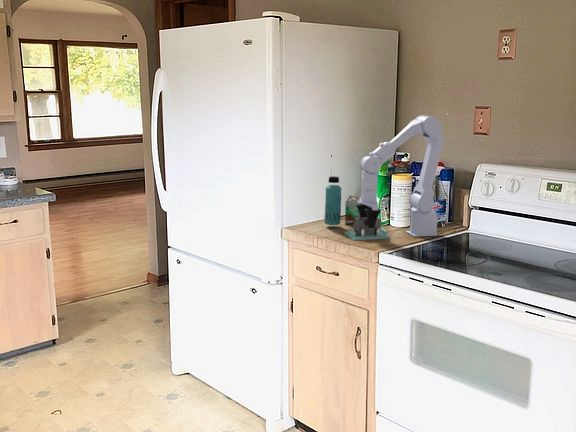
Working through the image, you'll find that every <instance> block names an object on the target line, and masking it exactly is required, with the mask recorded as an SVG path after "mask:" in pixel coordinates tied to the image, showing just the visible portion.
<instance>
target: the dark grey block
mask: <svg viewBox="0 0 576 432" xmlns="http://www.w3.org/2000/svg"><path fill="white" fill-rule="evenodd" d="M381 226H382V218H380V217H379V216H378V218H377V220H376V224H375V227H374V228H368V221H367V217H360V216H359V217H355V218H354V225H353V231H354V232H356V235H357V236H361V229H364V230H365V233H364V236H365V235H377V229H378V228H379V229H380V232H381V228H382V227H381Z"/></svg>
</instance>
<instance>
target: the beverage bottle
mask: <svg viewBox="0 0 576 432" xmlns="http://www.w3.org/2000/svg"><path fill="white" fill-rule="evenodd" d="M327 183H333V184H328V185H326V187H325V203H324V204H325V205H324V224H325V225H327V226H328V225H329V226H339V225H340V224H341V220H342V186H340V185H339V184H337V183H340V177H339V176H336V175H335V176H328V182H327ZM334 183H335V184H334Z"/></svg>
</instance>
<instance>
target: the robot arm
mask: <svg viewBox="0 0 576 432" xmlns="http://www.w3.org/2000/svg"><path fill="white" fill-rule="evenodd" d="M421 135H422V136H423V138H424V139H425V140H426V141H427V146H426V150H425V154H424V157H423V162H422V167H421V170H420V175H419V177H418V181H417V185H415V186H414V188H413V191H412V192H411V194H410V196H409V198H408V202H409V205H410V206H411V208H410V223H409V224H410V225H409V230H405V233H407V234H409V235H411V236H412V237H413V238H416V237H435V236H438V233H437V230H438V214H437V212H436V211H435V210H433V208H434V206H435V201H434V198H435V197H434V196H435V192H434V189H433V187H434V182H435V178H436V173H437V169H438V165H439V162H440V158H441V154H442V150H443V147H444V141H445V138H444V134H443V130H442V122H441V121H440V120H439V119H438V118H437V117H435V116H432V115H431V116H429V115H425V114H421V115H418V116H417V117H416V118H415V119H413V120H411V121H410V122H408V124H407V125H406V127H405V126H404V128H403V129H402V130H401V131H400V132H399V133H398V134H397V135H396V136H395V137H393V138H392V139H391V140H390V141H383V142H380V143H379V144H378V147H377V148H376V149H375V150H373V151H371V152H369V153H368V154H369V155H366V156H364V157H363V158H362V159H361V161H360V163H359V167H360V169H361V185H360V187H361V188H360V190H361V191H360V198H359V201H358V203H359V204H357V205H356V206H357V208H358V211H359V214H360V215H359V217H367V221H368V228H374V227H375V224H376V220H377V218H378V217H379V215H380V213H381V212H382V210H381V209H380V208H379V204H378V201H377V199H378V198H377V197H378V195H377V194H378V173H379V171H380V169H381V167H382V165H383V164H385V163H386V162H387V161H389V160H390V159H391V158H392V157H393V156H395V155H396V150H397V148H399V147H400V146H401V145H403V144H404V143H405V142H407V141H408V140H409V139H411V138H412V137H413V136H421Z"/></svg>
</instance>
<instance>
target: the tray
mask: <svg viewBox="0 0 576 432" xmlns="http://www.w3.org/2000/svg"><path fill="white" fill-rule="evenodd" d="M364 233H365V230H364V229H361V236H357V235H356V232H354V229H352V228H348V229H347V231H344V234H345V235H346V236H347V237H349V238H350V239H351V240H353V241H362V240H363V241H366V240H368V241H369V240H370V241H371V240H384V239H385V240H389V239H391V236H390V235H389V234H388V231H387V230H386V229H385V228H382V227H381V232H380V229H379V228H378V229H377V235H365V236H364Z"/></svg>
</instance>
